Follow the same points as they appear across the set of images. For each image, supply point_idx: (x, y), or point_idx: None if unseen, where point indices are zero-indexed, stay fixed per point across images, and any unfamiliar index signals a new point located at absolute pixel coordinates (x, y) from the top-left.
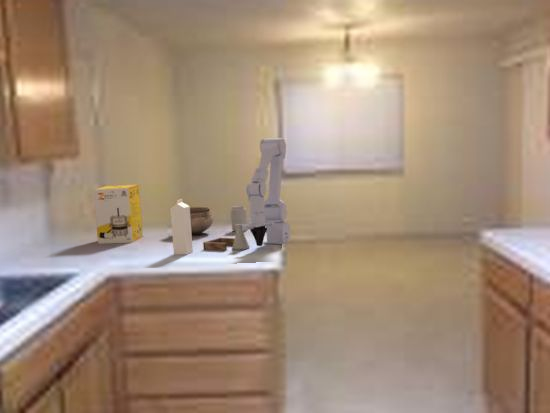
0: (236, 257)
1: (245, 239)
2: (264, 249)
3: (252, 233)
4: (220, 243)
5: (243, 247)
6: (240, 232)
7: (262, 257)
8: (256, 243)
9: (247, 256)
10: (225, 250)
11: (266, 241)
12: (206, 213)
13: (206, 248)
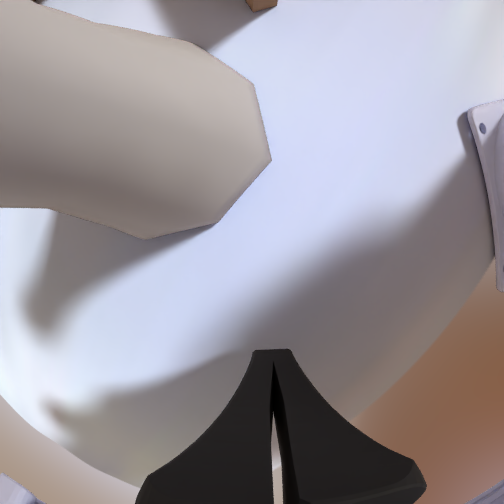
0: (49, 400)
1: (175, 196)
2: (300, 367)
3: (190, 452)
4: None
5: (141, 237)
6: (12, 202)
7: None
8: (250, 364)
9: (98, 429)
10: None
11: (499, 113)
12: None
13: None
